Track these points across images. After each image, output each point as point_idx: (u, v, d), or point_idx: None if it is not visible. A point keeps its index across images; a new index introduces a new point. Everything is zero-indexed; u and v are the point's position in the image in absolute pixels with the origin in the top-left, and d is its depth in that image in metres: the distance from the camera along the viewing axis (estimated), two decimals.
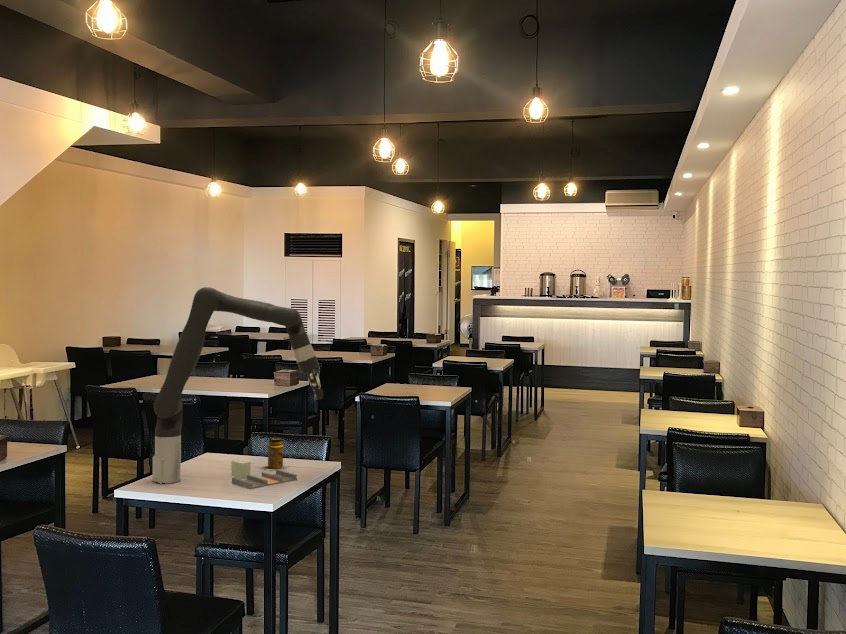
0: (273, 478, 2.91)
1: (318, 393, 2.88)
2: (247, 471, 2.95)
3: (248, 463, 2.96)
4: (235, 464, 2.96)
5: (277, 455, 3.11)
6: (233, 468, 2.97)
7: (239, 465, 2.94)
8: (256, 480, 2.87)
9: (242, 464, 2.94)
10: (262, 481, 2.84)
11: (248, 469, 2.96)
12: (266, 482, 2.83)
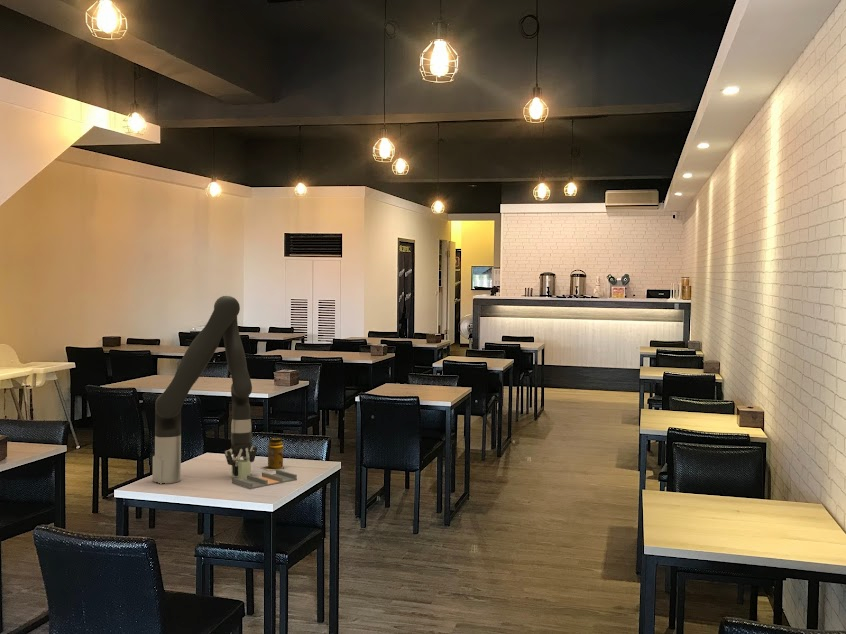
0: (273, 478, 2.91)
1: (233, 469, 2.95)
2: (247, 471, 2.95)
3: (248, 463, 2.96)
4: None
5: (277, 455, 3.11)
6: None
7: (239, 465, 2.94)
8: (256, 480, 2.87)
9: (242, 464, 2.94)
10: (262, 481, 2.84)
11: (248, 469, 2.96)
12: (266, 482, 2.83)
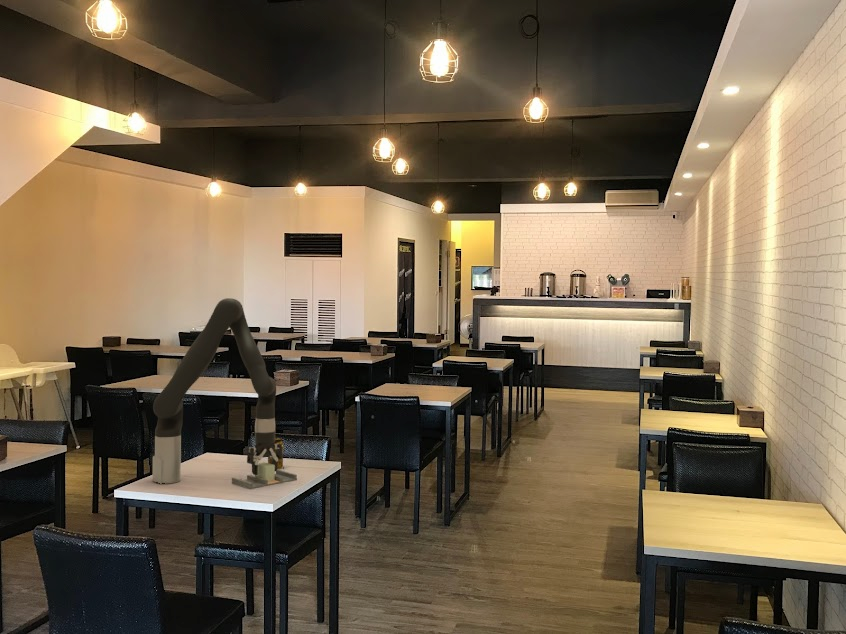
0: None
1: (253, 468, 2.86)
2: (271, 474, 2.88)
3: (272, 466, 2.88)
4: (259, 467, 2.89)
5: None
6: None
7: (263, 468, 2.87)
8: (256, 480, 2.87)
9: (266, 467, 2.86)
10: (262, 481, 2.84)
11: (272, 472, 2.88)
12: (266, 482, 2.83)
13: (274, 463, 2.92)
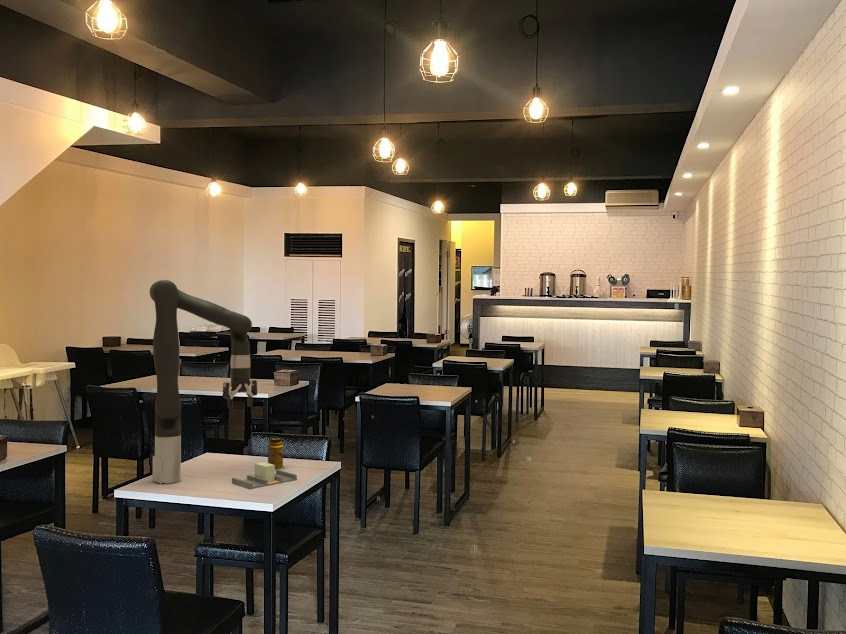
0: None
1: (228, 402, 2.97)
2: (271, 474, 2.88)
3: (272, 466, 2.88)
4: (259, 467, 2.89)
5: (277, 455, 3.11)
6: (257, 471, 2.89)
7: (263, 468, 2.87)
8: (256, 480, 2.87)
9: (266, 467, 2.86)
10: (262, 481, 2.84)
11: (272, 472, 2.88)
12: (266, 482, 2.83)
13: (249, 399, 3.03)
